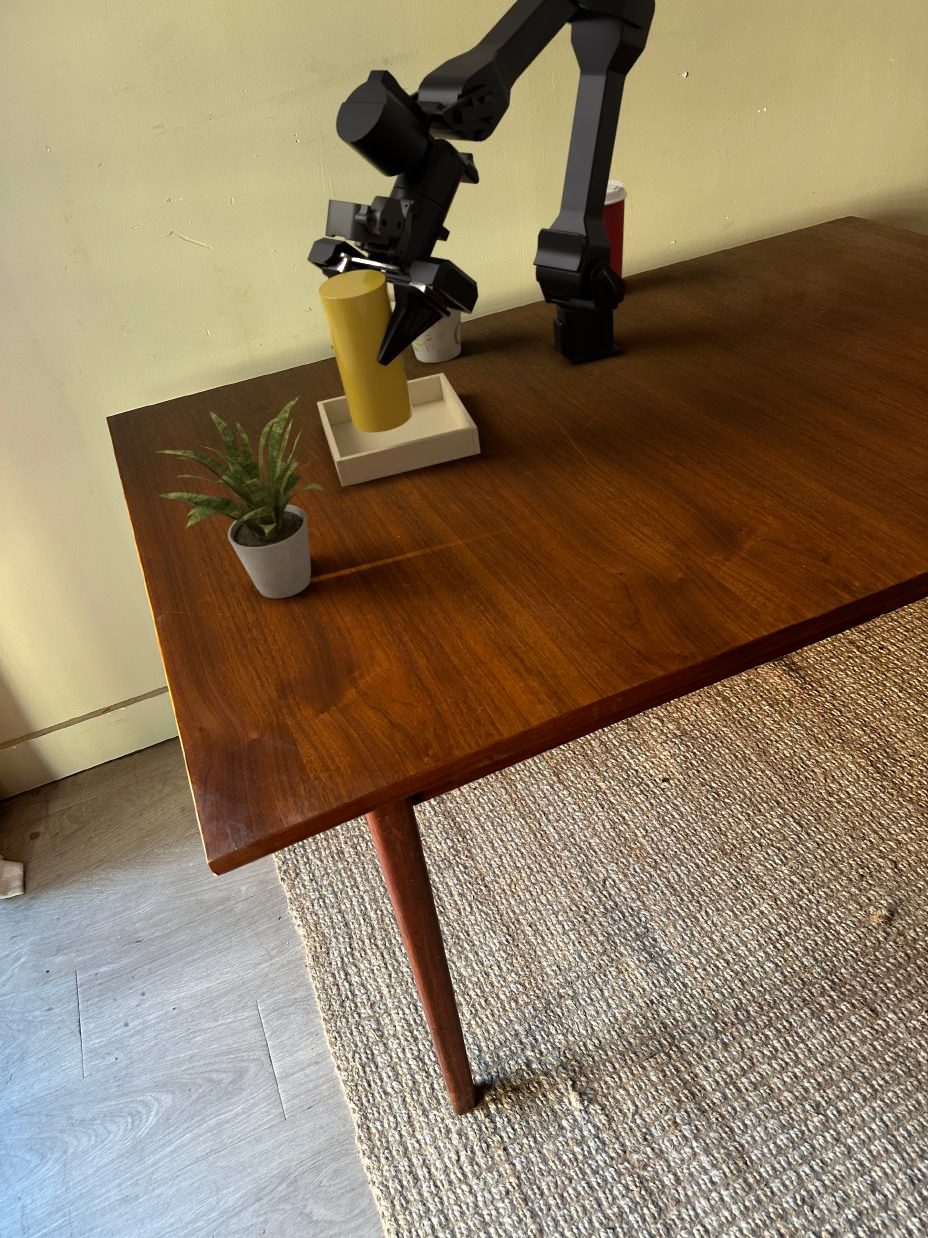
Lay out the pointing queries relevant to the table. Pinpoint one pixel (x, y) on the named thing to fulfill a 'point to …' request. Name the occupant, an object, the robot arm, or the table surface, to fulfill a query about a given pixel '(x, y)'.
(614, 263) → the paper cup
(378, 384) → the yellow cylinder
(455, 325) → the mug
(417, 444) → the white rectangular tray
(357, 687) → the table surface
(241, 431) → the house plant
